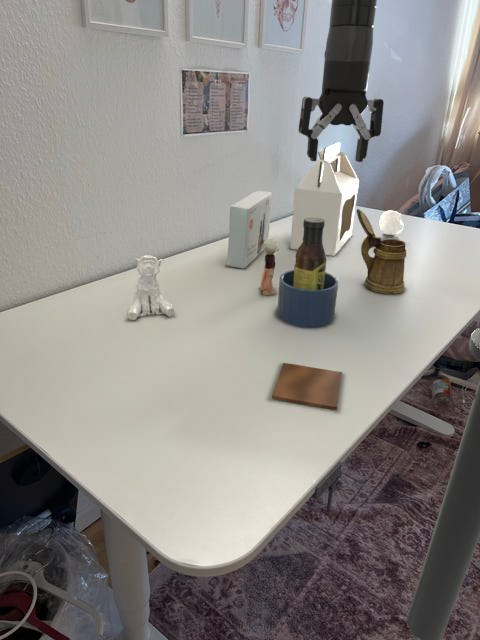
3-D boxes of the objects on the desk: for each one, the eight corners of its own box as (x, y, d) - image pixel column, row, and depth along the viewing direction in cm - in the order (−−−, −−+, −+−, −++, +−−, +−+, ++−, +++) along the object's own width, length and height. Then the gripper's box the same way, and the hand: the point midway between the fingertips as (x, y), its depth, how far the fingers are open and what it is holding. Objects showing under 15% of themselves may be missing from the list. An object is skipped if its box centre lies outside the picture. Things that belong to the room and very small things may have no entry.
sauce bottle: (320, 321, 97) (330, 225, 88) (289, 318, 98) (297, 223, 89) (321, 307, 103) (331, 216, 94) (292, 304, 104) (299, 214, 95)
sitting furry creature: (127, 321, 96) (122, 265, 91) (125, 303, 103) (120, 250, 98) (174, 317, 98) (172, 261, 93) (168, 299, 106) (166, 247, 100)
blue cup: (336, 306, 105) (340, 272, 101) (331, 331, 94) (335, 294, 91) (282, 299, 107) (285, 266, 104) (272, 323, 97) (274, 286, 93)
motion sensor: (401, 239, 149) (406, 215, 146) (376, 236, 151) (380, 212, 148) (401, 232, 156) (405, 208, 153) (377, 230, 158) (381, 206, 155)
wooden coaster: (341, 374, 81) (341, 371, 80) (336, 410, 72) (337, 407, 72) (283, 365, 83) (283, 362, 83) (271, 398, 74) (271, 395, 74)
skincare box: (246, 269, 123) (248, 208, 116) (226, 266, 125) (227, 206, 117) (270, 246, 141) (273, 191, 134) (252, 243, 142) (254, 189, 135)
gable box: (311, 229, 157) (320, 139, 144) (351, 235, 152) (364, 142, 139) (289, 249, 138) (297, 147, 126) (334, 256, 134) (347, 151, 121)
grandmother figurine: (255, 286, 114) (258, 234, 108) (271, 285, 114) (274, 233, 109) (264, 299, 107) (266, 245, 101) (280, 298, 108) (284, 244, 102)
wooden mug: (350, 274, 122) (359, 204, 113) (405, 283, 117) (419, 210, 109) (343, 287, 114) (353, 212, 106) (402, 297, 110) (417, 220, 102)
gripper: (310, 57, 75) (302, 164, 83) (397, 60, 77) (381, 165, 84) (300, 58, 82) (293, 157, 89) (380, 61, 83) (367, 158, 91)
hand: (336, 161), depth 87 cm, fingers open, 8 cm apart
